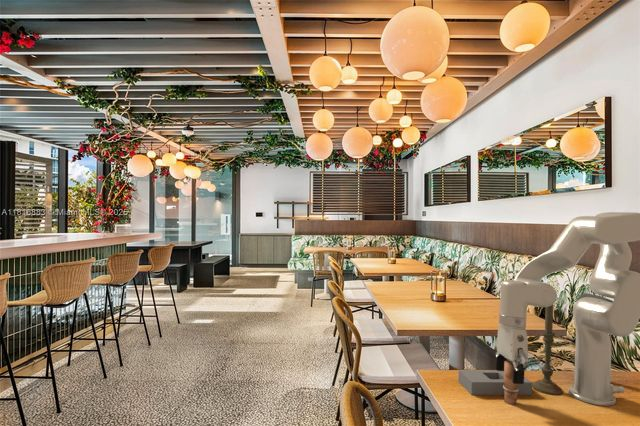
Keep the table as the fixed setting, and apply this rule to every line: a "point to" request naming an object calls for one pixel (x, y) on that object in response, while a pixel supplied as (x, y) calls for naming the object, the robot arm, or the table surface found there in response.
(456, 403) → the table surface
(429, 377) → the table surface
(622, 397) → the table surface
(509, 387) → the dowel
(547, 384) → the candlestick holder
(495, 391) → the seat board
